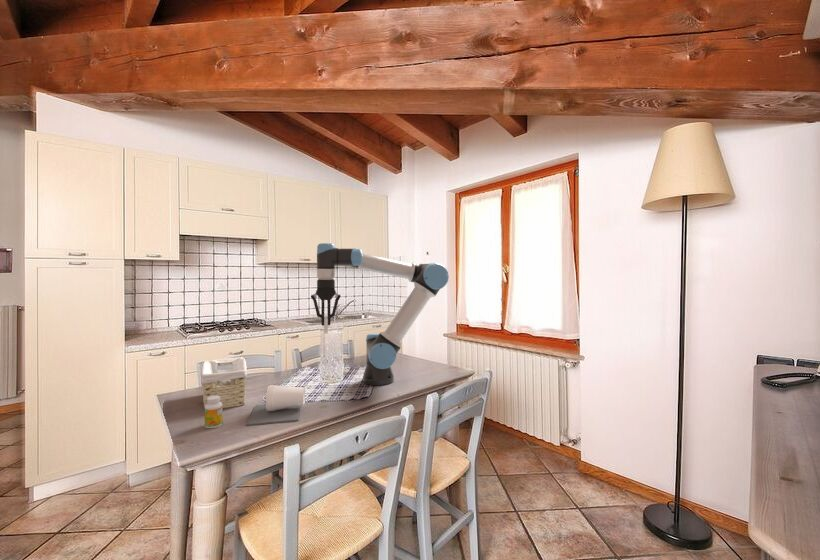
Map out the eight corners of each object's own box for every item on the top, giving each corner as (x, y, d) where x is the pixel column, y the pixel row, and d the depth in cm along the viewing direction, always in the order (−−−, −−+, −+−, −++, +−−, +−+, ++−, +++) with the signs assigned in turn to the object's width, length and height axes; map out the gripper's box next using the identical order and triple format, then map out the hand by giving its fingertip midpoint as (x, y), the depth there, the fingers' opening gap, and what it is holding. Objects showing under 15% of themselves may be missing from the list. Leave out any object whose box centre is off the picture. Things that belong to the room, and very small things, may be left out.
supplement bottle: (200, 428, 121) (200, 399, 120) (212, 421, 126) (212, 394, 126) (215, 429, 120) (214, 400, 119) (226, 422, 125) (225, 395, 125)
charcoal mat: (300, 402, 144) (300, 401, 144) (298, 420, 127) (298, 419, 127) (255, 406, 140) (255, 404, 140) (246, 425, 123) (246, 424, 123)
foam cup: (304, 413, 136) (268, 416, 134) (305, 392, 143) (271, 394, 141) (302, 400, 130) (264, 402, 128) (304, 378, 137) (268, 380, 135)
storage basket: (247, 406, 141) (247, 369, 140) (200, 413, 133) (199, 374, 133) (245, 388, 162) (244, 356, 161) (203, 394, 154) (203, 360, 154)
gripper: (340, 278, 160) (340, 331, 161) (310, 278, 157) (310, 332, 158) (341, 279, 153) (341, 333, 154) (310, 279, 150) (310, 335, 150)
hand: (325, 332), depth 156 cm, fingers closed
